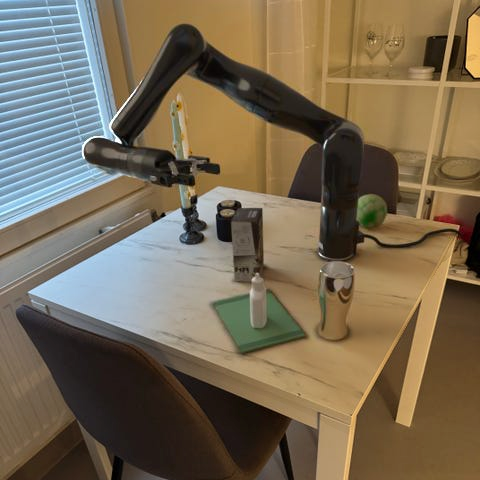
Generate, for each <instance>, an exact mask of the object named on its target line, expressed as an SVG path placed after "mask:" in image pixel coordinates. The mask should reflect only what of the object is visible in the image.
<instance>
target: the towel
mask: <svg viewBox="0 0 480 480" xmlns="http://www.w3.org/2000/svg"><path fill="white" fill-rule="evenodd" d="M265 289H266V288H265ZM212 305H213V306H214V308H215V309H216V312H217V313H218V315H219V317H220V318H221V320H222V322H223V323H224V326H225V327H226V329H227V330H228V332H229V334H230V335H231V337H232V339H233V340H234V342H235V344H236V347H238V350H239V351H240V353H241V354H245V353H250V352H255V351H257V350H261V349H265V348H268V347H271V346H276V345H279V344H283V343H286V342H287V343H288V342H290V341H294V340H298V339H301V338H305V337H306V334H305V333H304V331H303V330H302V329H301V328H300V327H299V325H298V324H297V323H296V322H295V321H294V319H293V318H292V317H291V315H290V314H289V313H288V312H287V310H286V309H285V308H284V306H282V304H281V303H280V302H279V301H278V299H277V298H276V297H275V295H274V294H273V293H272V292H271V290H270V289H269V288H267V289H266V306H267V322H266V325H265V326H264V327H263V328H253V327H252V325H251V315H250V292H249V293H244V294H240V295H236V296H232V297H227V298H223V299H218V300H214V301H212Z"/></svg>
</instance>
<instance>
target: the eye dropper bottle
mask: <svg viewBox="0 0 480 480" xmlns="http://www.w3.org/2000/svg"><path fill="white" fill-rule="evenodd" d="M264 284H265V283H264V278H263V277H261V275H259V273H256V274H255V277H254V278H253V279H252V282H251V289H250V291H249V293H250V315H251V325H252V327H253V328H263V327H264V326H265V325H266V322H267V306H266V287H265V285H264Z"/></svg>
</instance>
